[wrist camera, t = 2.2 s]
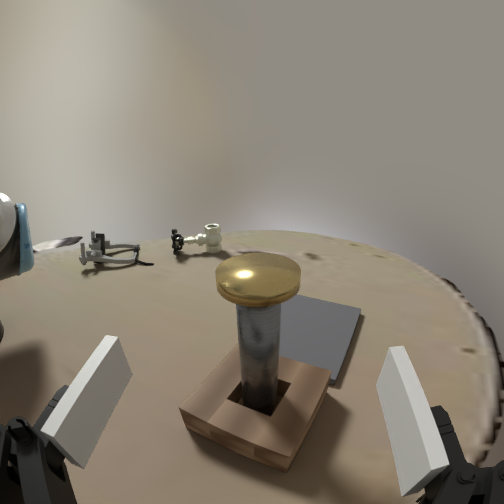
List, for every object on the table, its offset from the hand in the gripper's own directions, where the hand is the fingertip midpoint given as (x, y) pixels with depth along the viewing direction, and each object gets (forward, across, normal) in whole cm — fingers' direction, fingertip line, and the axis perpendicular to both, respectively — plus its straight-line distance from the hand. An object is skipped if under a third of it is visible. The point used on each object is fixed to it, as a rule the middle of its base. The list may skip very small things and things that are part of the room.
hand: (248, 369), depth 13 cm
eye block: (+10, 0, -18) cm, 21 cm away
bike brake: (+51, -39, -18) cm, 67 cm away
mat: (+25, +6, -18) cm, 31 cm away
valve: (+55, -19, -18) cm, 61 cm away
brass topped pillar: (+10, 0, -17) cm, 20 cm away
